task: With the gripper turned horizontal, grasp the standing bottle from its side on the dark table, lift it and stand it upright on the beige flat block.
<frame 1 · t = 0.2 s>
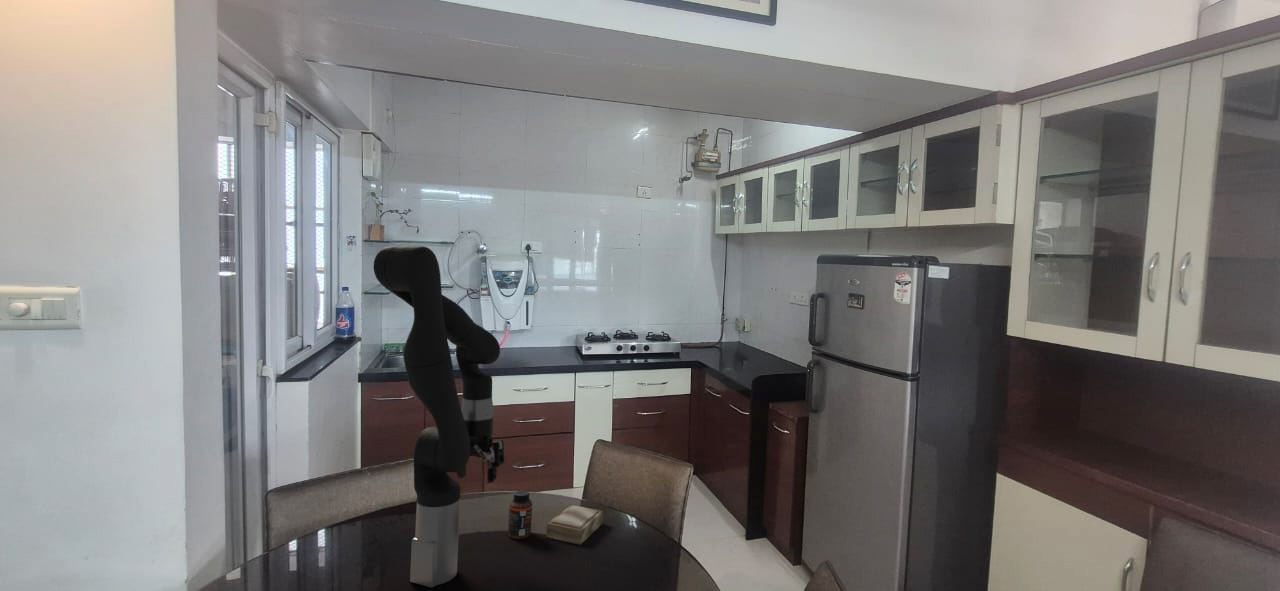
hand: (476, 479, 132), 17 cm above the table, tool pointing down, fingers open, 8 cm apart
beige flat block: (575, 530, 146), on the table
supplement bottle: (519, 535, 141), on the table
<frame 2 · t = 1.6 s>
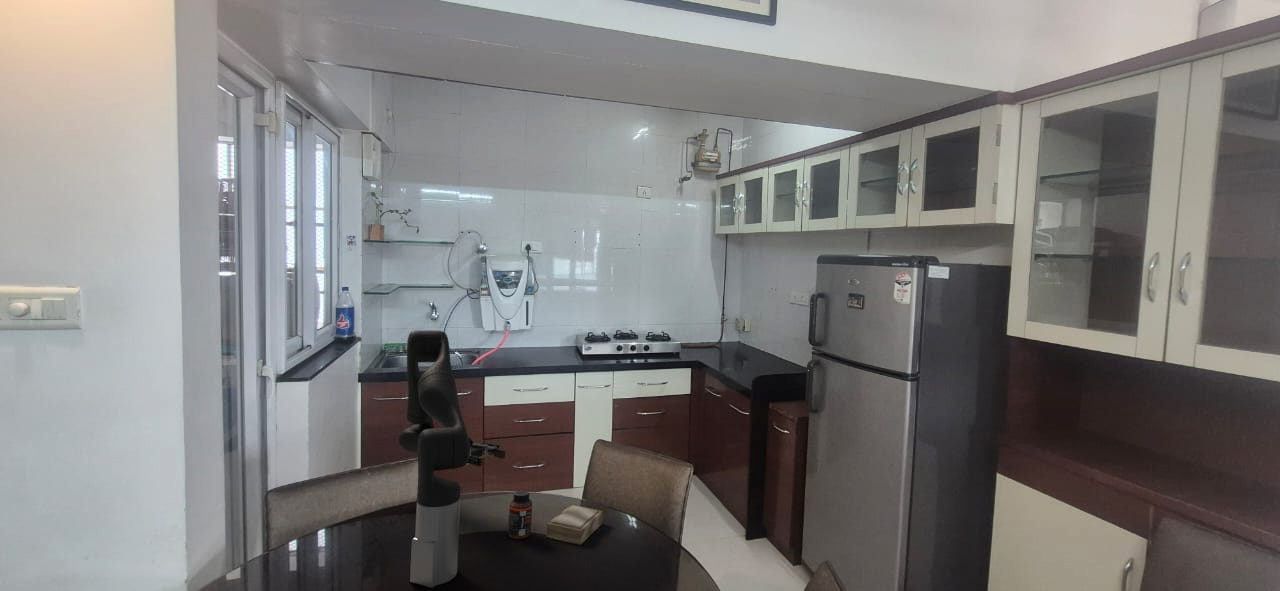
hand: (493, 458, 147), 18 cm above the table, tool horizontal, fingers open, 8 cm apart
nothing on the table moved.
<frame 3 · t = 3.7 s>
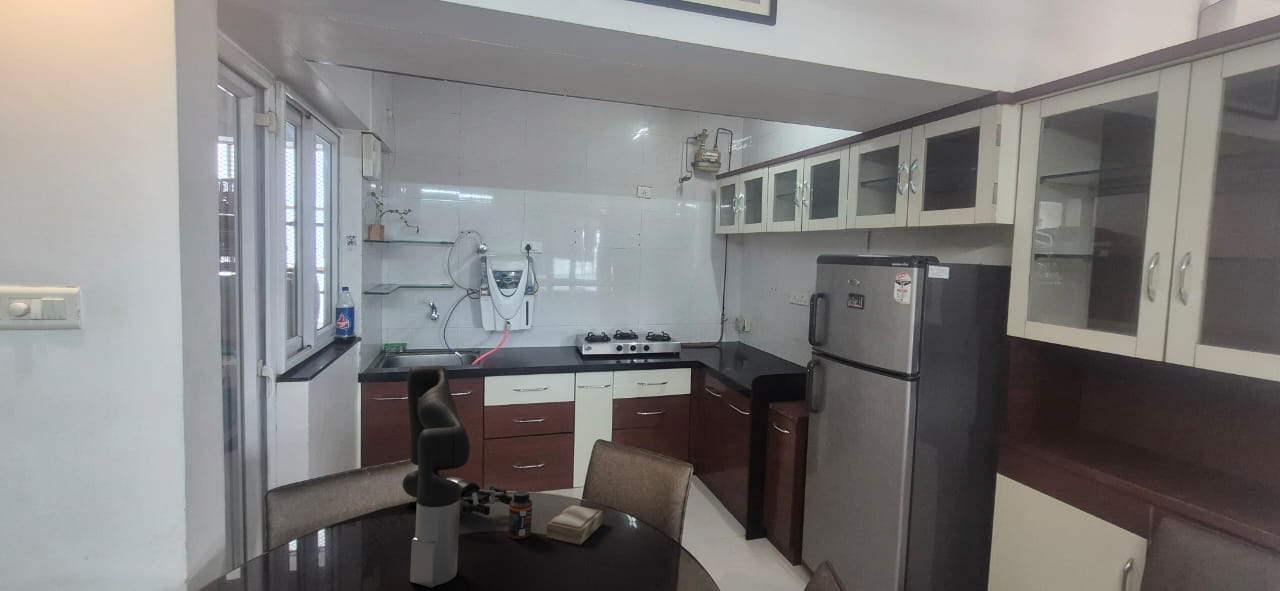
hand: (500, 506, 145), 6 cm above the table, tool horizontal, fingers open, 8 cm apart
nothing on the table moved.
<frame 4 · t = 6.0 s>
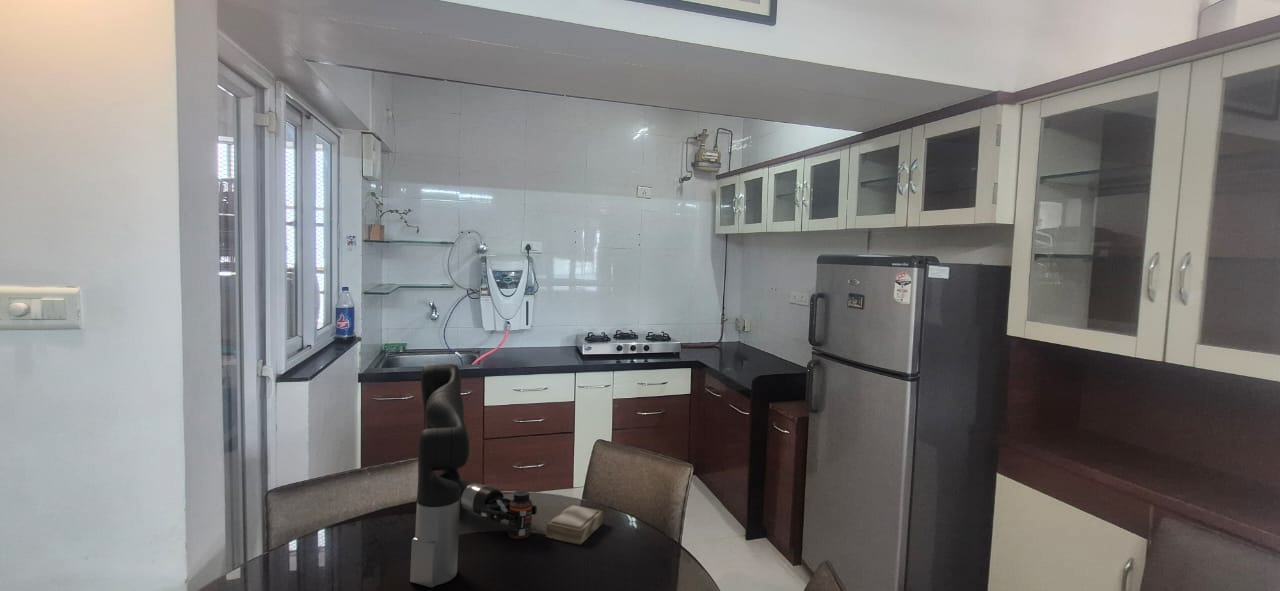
hand: (527, 514, 140), 6 cm above the table, tool horizontal, fingers closed on supplement bottle, 6 cm apart
supplement bottle: (519, 535, 141), on the table, touching gripper
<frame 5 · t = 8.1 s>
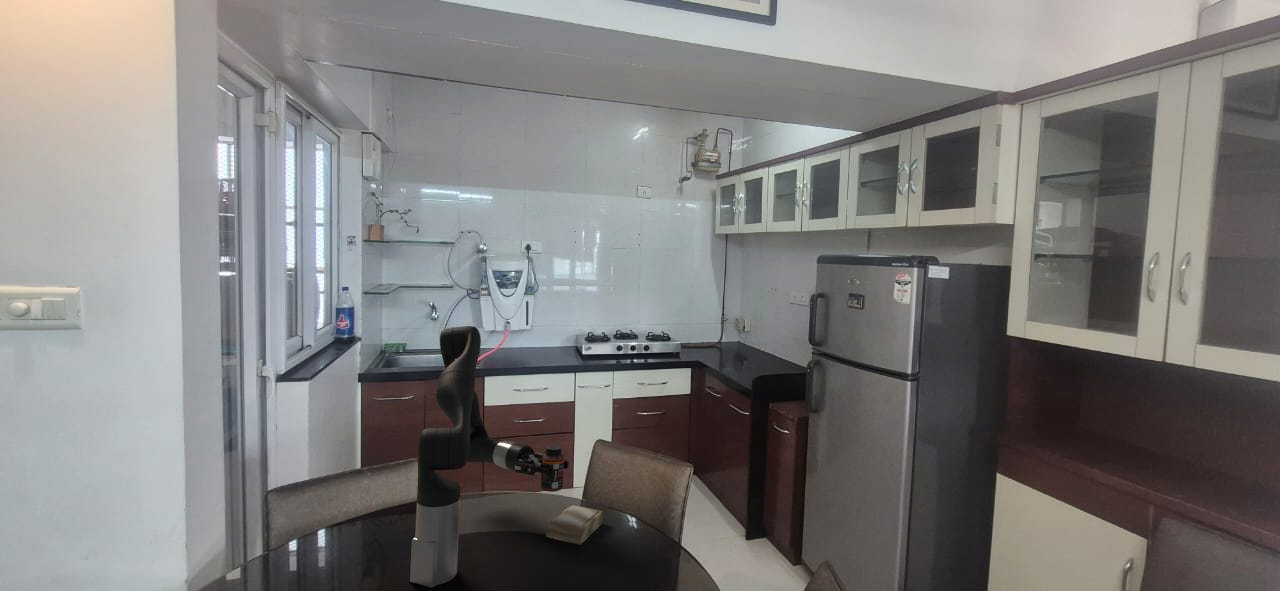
hand: (560, 468, 143), 18 cm above the table, tool horizontal, fingers closed on supplement bottle, 6 cm apart
supplement bottle: (551, 489, 144), point 11 cm above the table, touching gripper
when the fingers open (11 cm above the table, at t = 10.3 s): supplement bottle drops 1 cm, resting on beige flat block.
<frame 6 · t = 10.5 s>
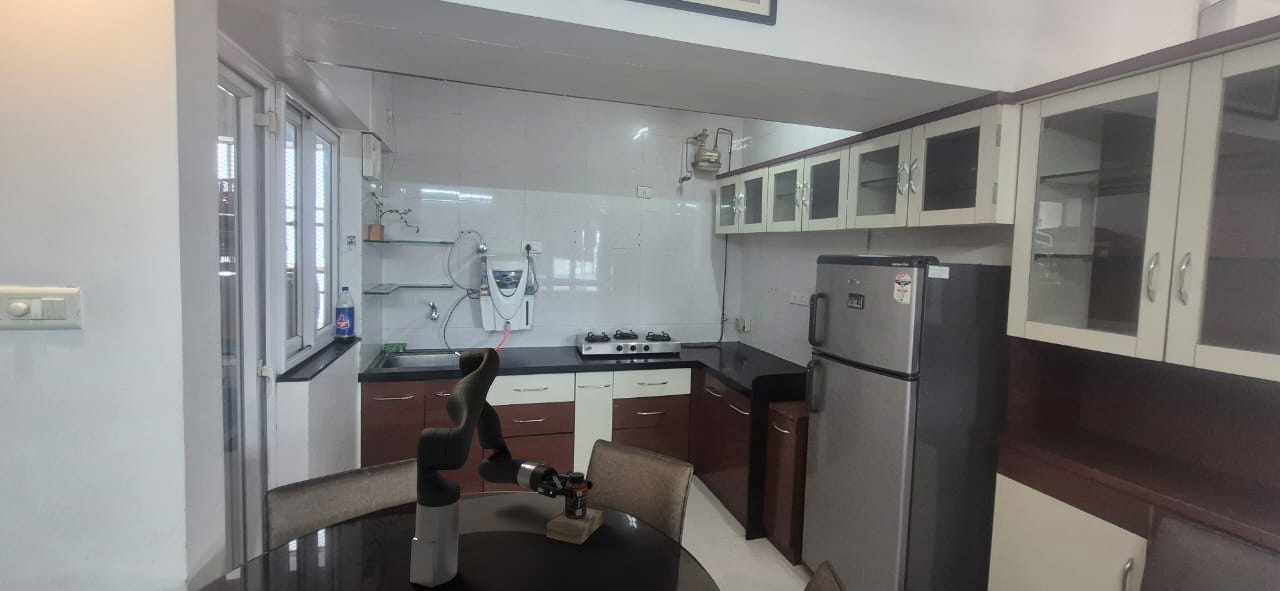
hand: (583, 490, 145), 11 cm above the table, tool horizontal, fingers open, 7 cm apart
supplement bottle: (575, 516, 146), point 4 cm above the table, touching beige flat block
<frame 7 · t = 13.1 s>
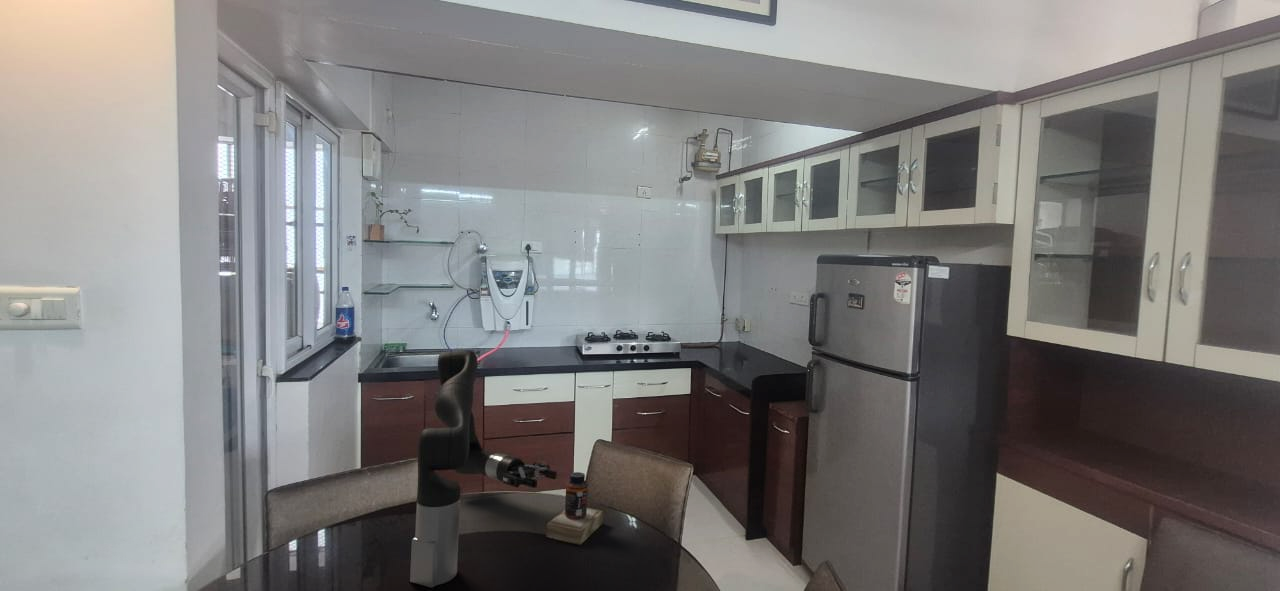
hand: (546, 479, 151), 12 cm above the table, tool horizontal, fingers open, 8 cm apart
nothing on the table moved.
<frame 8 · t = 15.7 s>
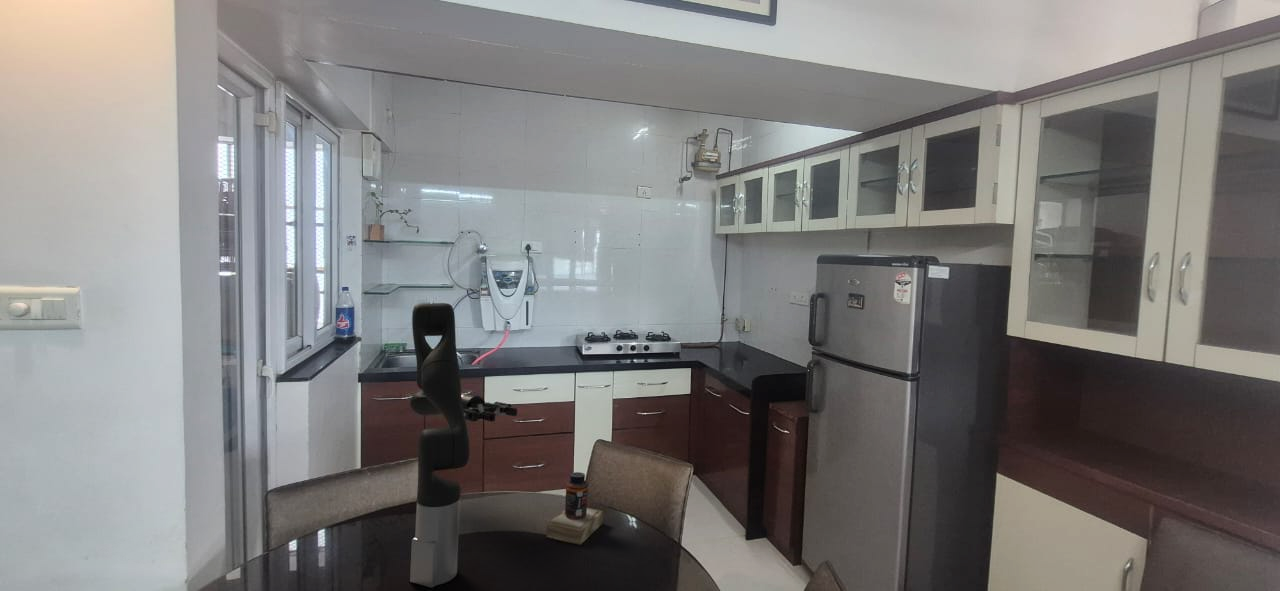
hand: (505, 415, 149), 30 cm above the table, tool horizontal, fingers open, 8 cm apart
nothing on the table moved.
at the end: supplement bottle inside the target area on the beige flat block (0.1 cm from its centre), point 3.8 cm above the beige flat block's base; supplement bottle tilted 0°; the gripper is holding nothing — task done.
